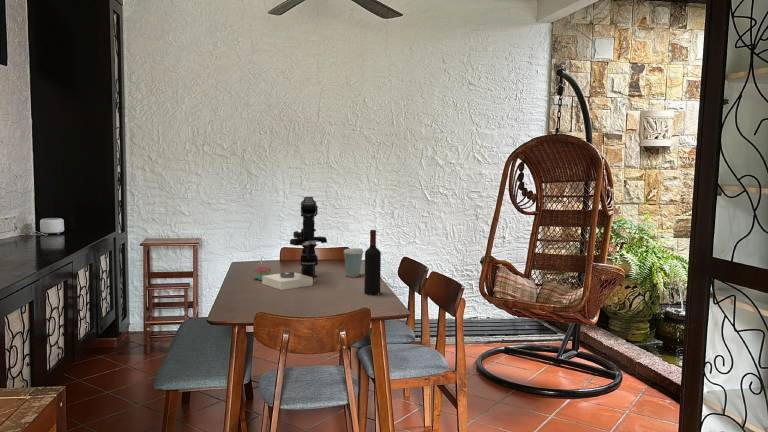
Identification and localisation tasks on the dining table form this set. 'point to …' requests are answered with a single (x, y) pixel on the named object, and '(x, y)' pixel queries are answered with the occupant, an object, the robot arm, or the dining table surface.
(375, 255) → the wine bottle
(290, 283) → the block
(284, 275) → the plunger
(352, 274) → the disposable coffee cup
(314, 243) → the robot arm
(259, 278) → the cupcake
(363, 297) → the dining table surface
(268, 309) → the dining table surface
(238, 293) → the dining table surface
